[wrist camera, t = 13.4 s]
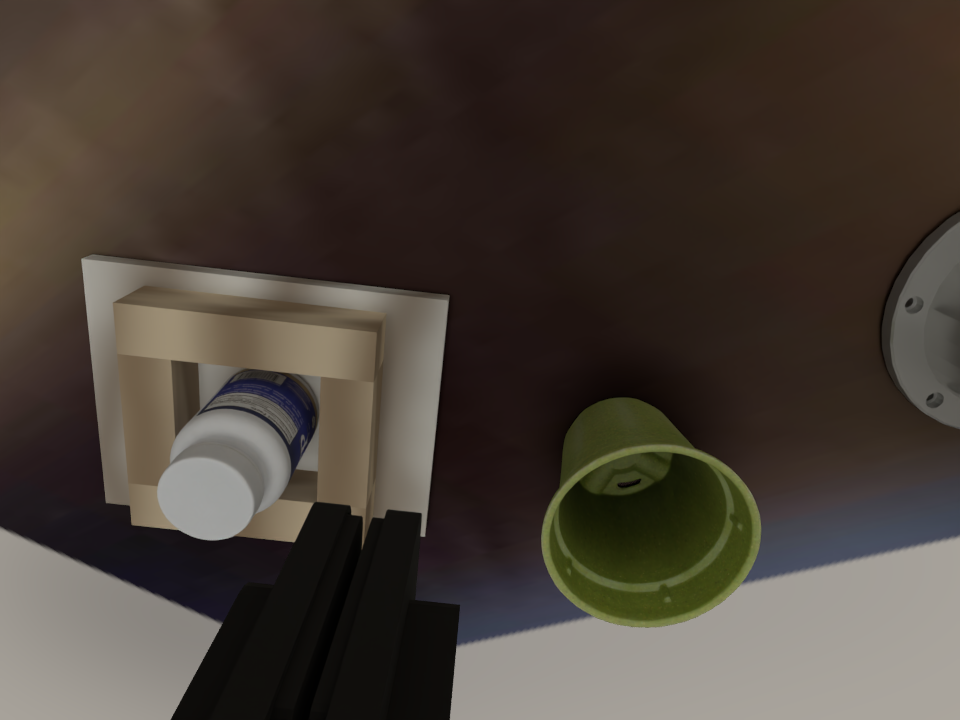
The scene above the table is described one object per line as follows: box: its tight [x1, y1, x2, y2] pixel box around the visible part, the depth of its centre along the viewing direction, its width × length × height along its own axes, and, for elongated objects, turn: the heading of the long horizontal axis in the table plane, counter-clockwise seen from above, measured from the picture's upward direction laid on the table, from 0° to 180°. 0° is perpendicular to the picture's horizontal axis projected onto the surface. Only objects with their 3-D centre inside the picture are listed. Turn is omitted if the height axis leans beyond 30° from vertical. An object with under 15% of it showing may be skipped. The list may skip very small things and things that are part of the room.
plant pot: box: [541, 398, 761, 628], centre depth 33 cm, size 9×9×9 cm
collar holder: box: [82, 254, 450, 547], centre depth 35 cm, size 18×14×4 cm
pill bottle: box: [157, 368, 319, 540], centre depth 32 cm, size 5×5×9 cm
